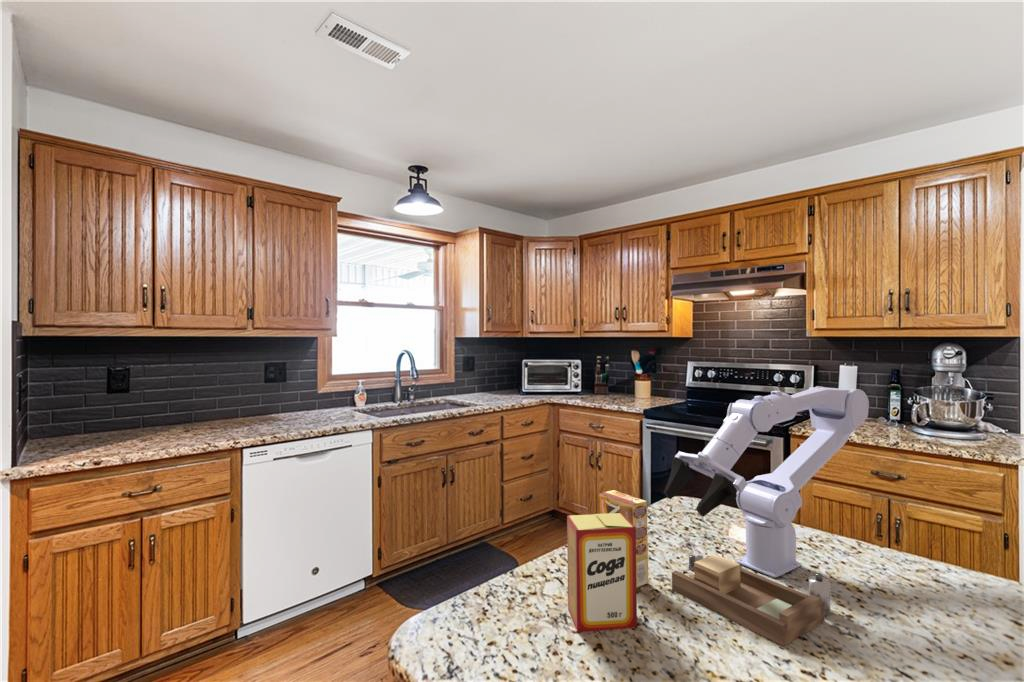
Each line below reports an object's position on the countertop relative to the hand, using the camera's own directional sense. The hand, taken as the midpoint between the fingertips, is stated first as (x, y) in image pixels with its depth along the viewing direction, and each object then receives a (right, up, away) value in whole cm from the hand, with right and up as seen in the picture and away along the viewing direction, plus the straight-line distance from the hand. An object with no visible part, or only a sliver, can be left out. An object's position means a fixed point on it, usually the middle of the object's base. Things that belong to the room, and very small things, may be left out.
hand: (682, 504), depth 89 cm
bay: (+8, -15, -7) cm, 18 cm away
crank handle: (+6, -15, +8) cm, 18 cm away
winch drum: (+19, -15, -9) cm, 26 cm away
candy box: (-10, -15, +3) cm, 19 cm away
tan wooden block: (+5, -14, -2) cm, 15 cm away
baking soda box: (-17, -15, -10) cm, 25 cm away
